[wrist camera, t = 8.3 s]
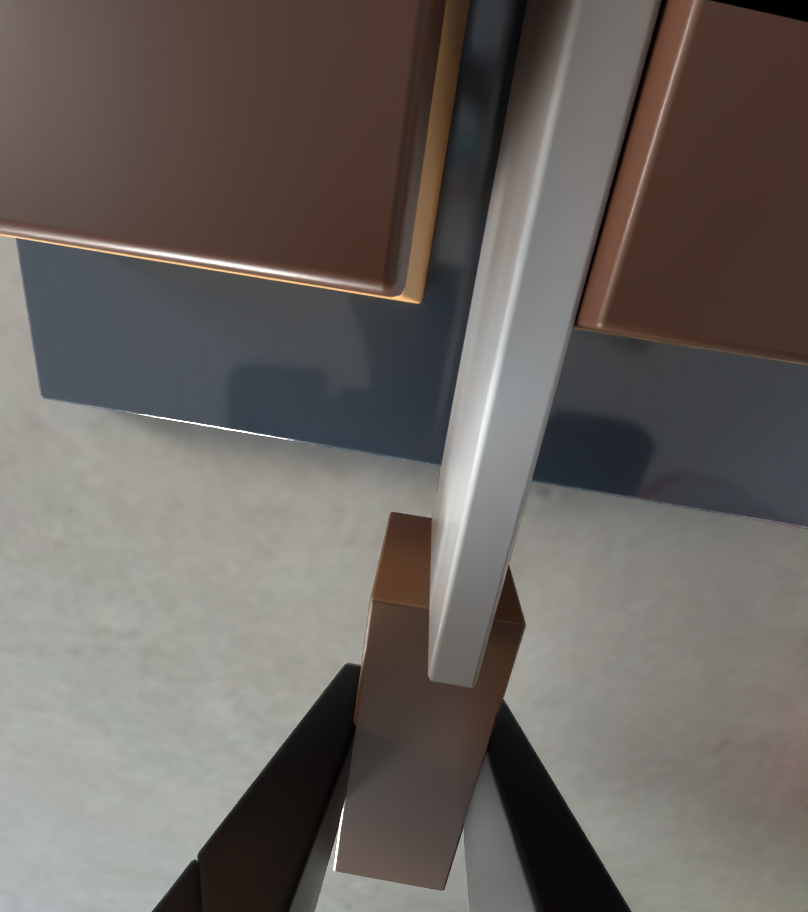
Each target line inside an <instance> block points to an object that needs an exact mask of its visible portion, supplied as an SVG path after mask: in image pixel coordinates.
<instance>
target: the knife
mask: <svg viewBox="0 0 808 912" xmlns="http://www.w3.org/2000/svg"><path fill="white" fill-rule="evenodd" d="M661 3H662V0H527V4H526V10H525V15H524V21H523V26H522V31H521V37H520V42H519V48H518V53H517V58H516V64H515V69H514V75H513V80H512V85H511V91H510V96H509V102H508V107H507V112H506V118H505V123H504V129H503V134H502V140H501V145H500V150H499V156H498V161H497V167H496V172H495V177H494V183H493V188H492V194H491V199H490V204H489V210H488V215H487V221H486V226H485V231H484V237H483V242H482V248H481V253H480V258H479V264H478V269H477V275H476V280H475V285H474V291H473V296H472V302H471V307H470V312H469V318H468V323H467V329H466V334H465V339H464V345H463V350H462V356H461V361H460V367H459V372H458V377H457V383H456V388H455V394H454V399H453V404H452V410H451V415H450V421H449V426H448V431H447V437H446V442H445V448H444V453H443V458H442V464H441V469H440V475H439V480H438V485H437V491H436V496H435V502H434V507H433V512H432V518H427V517H420V516H414V515H408V514H402V513H396V512H391V513H390V515H389V520H388V524H387V528H386V533H385V537H384V541H383V546H382V550H381V554H380V559H379V563H378V568H377V572H376V576H375V581H374V585H373V589H372V594H371V598H370V604H369V612H368V619H367V626H366V634H365V641H364V648H363V656H362V663H361V670H360V678H359V685H358V692H357V700H356V707H355V714H354V724H355V726H356V731H355V738H354V744H353V751H352V757H351V764H350V770H349V777H348V783H347V790H346V796H345V802H344V807H343V811H342V815H341V819H340V824H339V831H338V839H337V846H336V853H335V861H334V870H335V871H337V872H342V873H348V874H353V875H359V876H364V877H370V878H375V879H381V880H386V881H391V882H397V883H402V884H408V885H413V886H419V887H424V888H430V889H435V890H440V891H443V890H444V889H445V886H446V883H447V879H448V876H449V873H450V870H451V866H452V863H453V860H454V857H455V853H456V850H457V847H458V844H459V840H460V837H461V834H462V831H463V827H464V819H465V816H466V813H467V810H468V807H469V803H470V800H471V797H472V794H473V791H474V788H475V785H476V782H477V778H478V775H479V772H480V769H481V766H482V763H483V760H484V756H485V753H486V751H487V749H488V746H489V743H490V740H491V737H492V733H493V730H494V727H495V724H496V720H497V717H498V714H499V711H500V707H501V704H502V701H503V698H504V694H505V691H506V688H507V685H508V681H509V678H510V675H511V672H512V668H513V665H514V662H515V659H516V656H517V652H518V649H519V646H520V643H521V639H522V636H523V633H524V630H525V626H526V624H525V620H524V616H523V613H522V609H521V606H520V602H519V598H518V595H517V591H516V588H515V584H514V581H513V577H512V573H511V570H510V566H509V562H510V558H511V554H512V551H513V547H514V543H515V540H516V536H517V532H518V529H519V525H520V521H521V518H522V514H523V510H524V506H525V503H526V499H527V495H528V492H529V488H530V484H531V481H532V477H533V473H534V470H535V466H536V462H537V459H538V455H539V451H540V448H541V444H542V440H543V437H544V433H545V429H546V426H547V422H548V418H549V415H550V411H551V407H552V404H553V400H554V396H555V392H556V389H557V385H558V381H559V378H560V374H561V370H562V367H563V363H564V359H565V356H566V352H567V348H568V345H569V341H570V337H571V334H572V330H573V326H574V323H575V319H576V315H577V312H578V308H579V304H580V301H581V297H582V293H583V290H584V286H585V282H586V278H587V275H588V271H589V267H590V264H591V260H592V256H593V253H594V249H595V245H596V242H597V238H598V234H599V231H600V227H601V223H602V220H603V216H604V212H605V209H606V205H607V201H608V198H609V194H610V190H611V187H612V183H613V179H614V176H615V172H616V168H617V164H618V161H619V157H620V153H621V150H622V146H623V142H624V139H625V135H626V131H627V128H628V124H629V120H630V117H631V113H632V109H633V106H634V102H635V98H636V95H637V91H638V87H639V84H640V80H641V76H642V73H643V69H644V65H645V62H646V58H647V54H648V50H649V47H650V43H651V39H652V36H653V32H654V28H655V25H656V21H657V17H658V14H659V10H660V6H661Z"/></svg>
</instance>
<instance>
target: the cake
mask: <svg viewBox="0 0 808 912" xmlns="http://www.w3.org/2000/svg"><path fill="white" fill-rule="evenodd" d="M469 3H470V0H0V235H2V236H8V237H14V238H20V239H26V240H32V241H38V242H44V243H50V244H56V245H62V246H68V247H74V248H80V249H86V250H92V251H98V252H104V253H110V254H116V255H122V256H128V257H134V258H141V259H147V260H153V261H159V262H165V263H171V264H177V265H184V266H190V267H196V268H202V269H208V270H214V271H220V272H227V273H233V274H239V275H245V276H251V277H257V278H263V279H270V280H276V281H282V282H288V283H294V284H300V285H306V286H313V287H319V288H325V289H331V290H337V291H343V292H349V293H355V294H362V295H368V296H374V297H380V298H386V299H392V300H398V301H405V302H411V303H417V304H418V303H421V302H422V300H423V295H424V289H425V283H426V276H427V270H428V263H429V257H430V251H431V244H432V238H433V232H434V225H435V219H436V213H437V206H438V200H439V194H440V187H441V181H442V175H443V168H444V162H445V156H446V149H447V143H448V137H449V130H450V124H451V118H452V111H453V105H454V99H455V92H456V86H457V79H458V73H459V67H460V60H461V54H462V48H463V41H464V35H465V29H466V22H467V16H468V10H469Z"/></svg>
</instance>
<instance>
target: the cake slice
mask: <svg viewBox="0 0 808 912" xmlns="http://www.w3.org/2000/svg"><path fill="white" fill-rule="evenodd" d="M573 329H580V330H586V331H592V332H598V333H605V334H611V335H617V336H624V337H630V338H636V339H642V340H649V341H655V342H661V343H667V344H674V345H680V346H686V347H692V348H699V349H705V350H712V351H718V352H725V353H731V354H738V355H744V356H751V357H758V358H764V359H771V360H777V361H784V362H790V363H797V364H803V365H808V0H662V3H661V6H660V10H659V14H658V17H657V21H656V25H655V28H654V32H653V36H652V39H651V43H650V47H649V50H648V54H647V58H646V62H645V65H644V69H643V73H642V76H641V80H640V84H639V87H638V91H637V95H636V98H635V102H634V106H633V109H632V113H631V117H630V120H629V124H628V128H627V131H626V135H625V139H624V142H623V146H622V150H621V153H620V157H619V161H618V164H617V168H616V172H615V176H614V179H613V183H612V187H611V190H610V194H609V198H608V201H607V205H606V209H605V212H604V216H603V220H602V223H601V227H600V231H599V234H598V238H597V242H596V245H595V249H594V253H593V256H592V260H591V264H590V267H589V271H588V275H587V278H586V282H585V286H584V290H583V293H582V297H581V301H580V304H579V308H578V312H577V315H576V319H575V323H574V326H573Z"/></svg>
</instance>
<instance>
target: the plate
mask: <svg viewBox="0 0 808 912" xmlns="http://www.w3.org/2000/svg"><path fill="white" fill-rule="evenodd" d="M526 4H527V0H470V3H469V10H468V16H467V22H466V29H465V35H464V41H463V48H462V54H461V60H460V67H459V73H458V79H457V86H456V92H455V99H454V105H453V111H452V118H451V124H450V130H449V137H448V143H447V149H446V156H445V162H444V168H443V175H442V181H441V187H440V194H439V200H438V206H437V213H436V219H435V225H434V232H433V238H432V244H431V251H430V257H429V263H428V270H427V276H426V283H425V289H424V295H423V300H422V302H421V303H418V304H417V303H411V302H405V301H398V300H392V299H386V298H380V297H374V296H368V295H362V294H355V293H349V292H343V291H337V290H331V289H325V288H319V287H313V286H306V285H300V284H294V283H288V282H282V281H276V280H270V279H263V278H257V277H251V276H245V275H239V274H233V273H227V272H220V271H214V270H208V269H202V268H196V267H190V266H184V265H177V264H171V263H165V262H159V261H153V260H147V259H141V258H134V257H128V256H122V255H116V254H110V253H104V252H98V251H92V250H86V249H80V248H74V247H68V246H62V245H56V244H50V243H44V242H38V241H32V240H26V239H20V238H16V244H17V250H18V256H19V263H20V269H21V275H22V281H23V288H24V294H25V300H26V306H27V313H28V319H29V325H30V331H31V338H32V344H33V350H34V356H35V362H36V369H37V375H38V381H39V387H40V394H41V396H42V398H44V399H49V400H55V401H61V402H67V403H72V404H78V405H84V406H90V407H96V408H102V409H108V410H114V411H119V412H125V413H131V414H137V415H143V416H149V417H155V418H161V419H166V420H172V421H178V422H184V423H190V424H196V425H202V426H208V427H213V428H219V429H225V430H231V431H237V432H243V433H249V434H254V435H260V436H266V437H272V438H278V439H284V440H290V441H296V442H301V443H307V444H313V445H319V446H325V447H331V448H337V449H343V450H348V451H354V452H360V453H366V454H372V455H378V456H384V457H390V458H395V459H401V460H407V461H413V462H419V463H425V464H431V465H436V466H441V464H442V458H443V453H444V448H445V442H446V437H447V431H448V426H449V421H450V415H451V410H452V404H453V399H454V394H455V388H456V383H457V377H458V372H459V367H460V361H461V356H462V350H463V345H464V339H465V334H466V329H467V323H468V318H469V312H470V307H471V302H472V296H473V291H474V285H475V280H476V275H477V269H478V264H479V258H480V253H481V248H482V242H483V237H484V231H485V226H486V221H487V215H488V210H489V204H490V199H491V194H492V188H493V183H494V177H495V172H496V167H497V161H498V156H499V150H500V145H501V140H502V134H503V129H504V123H505V118H506V112H507V107H508V102H509V96H510V91H511V85H512V80H513V75H514V69H515V64H516V58H517V53H518V48H519V42H520V37H521V31H522V26H523V21H524V15H525V10H526ZM531 482H536V483H542V484H548V485H554V486H560V487H566V488H572V489H577V490H583V491H589V492H595V493H601V494H607V495H613V496H619V497H624V498H630V499H636V500H642V501H648V502H654V503H660V504H665V505H671V506H677V507H683V508H689V509H695V510H701V511H707V512H712V513H718V514H724V515H730V516H736V517H742V518H748V519H754V520H759V521H765V522H771V523H777V524H783V525H789V526H795V527H801V528H806V529H808V365H803V364H797V363H790V362H784V361H777V360H771V359H764V358H758V357H751V356H744V355H738V354H731V353H725V352H718V351H712V350H705V349H699V348H692V347H686V346H680V345H674V344H667V343H661V342H655V341H649V340H642V339H636V338H630V337H624V336H617V335H611V334H605V333H598V332H592V331H586V330H580V329H573V330H572V334H571V337H570V341H569V345H568V348H567V352H566V356H565V359H564V363H563V367H562V370H561V374H560V378H559V381H558V385H557V389H556V392H555V396H554V400H553V404H552V407H551V411H550V415H549V418H548V422H547V426H546V429H545V433H544V437H543V440H542V444H541V448H540V451H539V455H538V459H537V462H536V466H535V470H534V473H533V477H532V481H531Z"/></svg>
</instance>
